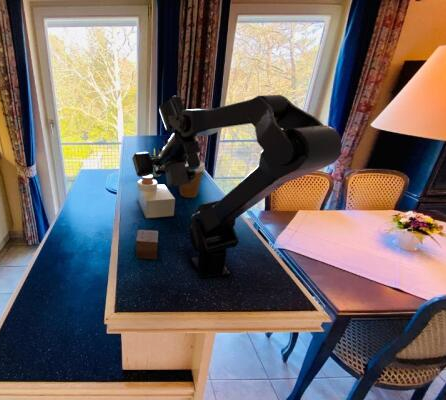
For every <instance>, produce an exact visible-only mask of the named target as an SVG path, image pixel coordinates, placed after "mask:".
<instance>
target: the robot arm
mask: <svg viewBox="0 0 446 400" xmlns="http://www.w3.org/2000/svg"><path fill="white" fill-rule="evenodd" d="M158 108H159V109H158V110H159V114H160V116H161V119H162V122H163V124H164V128H165V130H166V132H171V133H172V134H171V136H170V138H169V139H164V140H163V142H162V143H163V148H158V150H157V153H158V154H155V155H154V154H153V155H151V156H150V153H149V152H148V151H142V152H135V153H134V154H133V156H132V158H131V160H132V164H133V167H134V169H135V174H136V176H137V177H139V178H142V176H149V175H151V174H152V173H153V168H154V171H155V174H156V176H159V177H161V176H162V175H165V179H166V185H167V187H170V188H171V187H178V186H179V187H180V185H185V184H189V183H191V180H193V179H194V178H195V177H196V171H195V170H193V169H197V168H198V167H199V166H200V163H201V162H202V161H201V159H200V155H199V153H200V152H201V147H200V141H199V139H198V137H207V136H211V135H213V134H216V133H218V132H219V131H220V130H222V129H225V128H232V127H240V126H247V125H248V126H249V125H252V126H253V127H254V132H255V138H256V142H257V144H258V145H259V147H260V148H261V149H262V151H261V152H260V156H259V163H258V165H257V167H256V168H254V169H253V170H252V171H251V172H250V173H248V174H247V176H246V177H244V178H243V179H242V180H241V181H240V182H239V183H238V184H237V185H236V186H234V187H233V188H232V189H231V190H230V191H229V192H228V193H227V194H226V195H224V197H222V198H221V199H219V200H214V201H209V202H205V203H201V204H199V205H198V207H197V208H196V210H193V211H191V213H192V215H191V217H190V220H189V223H188V224H189V236H190V243H191V244H190V245H192V246H193V251H195V252H197V253H198V255H197V257H192V258H191V262H192V264H193V265H194V268H195V270H196V271H197V272H198V274H199V276H200V277H201V278H202V279H208V278H216V277H224V276H229V275H230V271H229V270H228V269H227V267H226V265H225V263H226V259H227V258H226V257H227V254H228V253H227V249H230V248H236V247H237V245H238V244H239V242H240V240H239V237H238V235H237V233H236V230H235V228H234V227H235V226H236V219H237V218H239V217H241V216H242V215H243V214H244V213H246V212H247V211H249V210H250V209H251V208H253V207H254V206H255V205H257V204H258V203H260V202H261V201H262V200H264V199H265V198H267V197H269V196H270V195H271V194H272V193H274V192H276V190H278V189H280V188H281V187H282V186H284V185H285V184H287V183H288V182H291V181H294V180H297V179H300V178H302V177H305V176H308V175H310V174H313V173H315V172H317V171H320V170H322V169H324V168H326V167H329V166H330V165H331V166H332V164H334V163H336V161H338V159H339V158H340V157H341V156H342V147H343V143H342V138H341V136H340V134H339V132H338V131H337V130H336V129H334V127H331V126H328V125H325V124H324V123H322V122H321V121H320V119H318V118H317V117H316V116H315V115H312V114H310V113H308V112H306V111H305V110H304V109H301V108H300V107H298V106H296V105H295V104H294V103H292V101H290V100H289V99H288V98H287V97H286V96H284V95H282V94H268V95H265V94H264V95H257V96H255V97H253V98H251V99H247V100H243V101H239V102H236V103H231V104H227V105H224V106H219V107H216V108H215V107H214V108H209V107H208V108H194V109H193V108H191V109H186V108H185V106H184V103H183V99H182V96H181V95H173V96H172V97H171V98H170V99H168V100H165V102H163V103H161V104H160V105H159V107H158ZM186 161H187V162H186ZM187 163H188V166H185V164H187Z"/></svg>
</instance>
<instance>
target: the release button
mask: <svg viewBox="0 0 446 400" xmlns="http://www.w3.org/2000/svg"><path fill="white" fill-rule="evenodd" d="M141 179H142V184H146V185H149V184H153V180H154V177H153V176H152V175H149V176H142V177H141Z"/></svg>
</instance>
